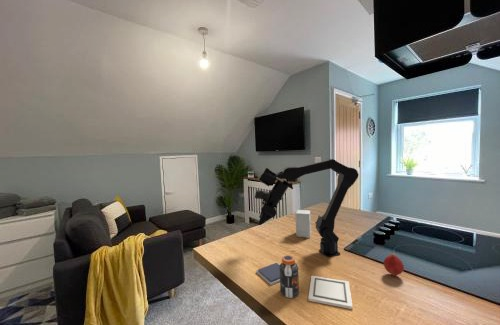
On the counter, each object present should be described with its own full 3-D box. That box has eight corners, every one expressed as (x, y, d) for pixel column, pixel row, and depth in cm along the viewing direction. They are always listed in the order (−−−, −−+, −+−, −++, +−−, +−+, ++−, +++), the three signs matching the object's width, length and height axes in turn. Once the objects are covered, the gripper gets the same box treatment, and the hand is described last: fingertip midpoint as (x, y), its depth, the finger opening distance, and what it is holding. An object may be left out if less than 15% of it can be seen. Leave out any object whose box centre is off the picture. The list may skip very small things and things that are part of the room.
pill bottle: (295, 301, 63) (293, 264, 62) (277, 294, 66) (275, 259, 65) (301, 289, 68) (300, 255, 67) (284, 284, 71) (283, 251, 70)
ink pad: (276, 264, 84) (276, 261, 84) (292, 276, 75) (292, 273, 75) (256, 272, 79) (256, 269, 79) (270, 285, 71) (270, 282, 71)
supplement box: (310, 238, 108) (309, 214, 107) (295, 236, 111) (294, 213, 110) (311, 232, 115) (310, 210, 114) (298, 231, 117) (297, 209, 117)
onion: (380, 271, 76) (379, 249, 76) (396, 270, 76) (395, 249, 75) (390, 280, 70) (390, 257, 70) (408, 280, 70) (407, 257, 70)
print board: (311, 277, 74) (311, 275, 74) (348, 283, 70) (348, 280, 69) (308, 300, 63) (308, 297, 63) (352, 309, 58) (352, 305, 58)
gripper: (262, 180, 102) (246, 206, 103) (261, 185, 84) (241, 218, 85) (282, 191, 102) (265, 218, 103) (285, 200, 83) (264, 232, 84)
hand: (259, 221), depth 94 cm, fingers open, 9 cm apart
